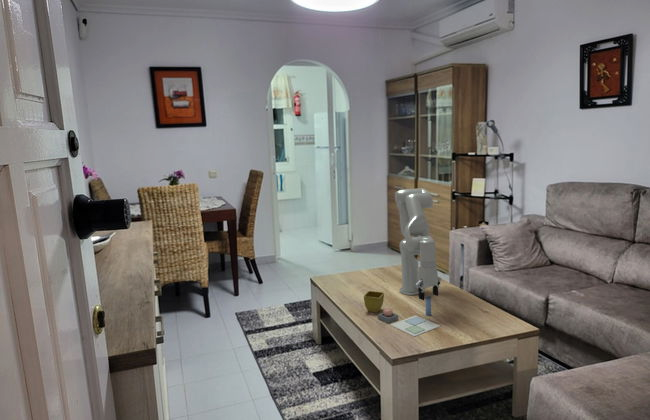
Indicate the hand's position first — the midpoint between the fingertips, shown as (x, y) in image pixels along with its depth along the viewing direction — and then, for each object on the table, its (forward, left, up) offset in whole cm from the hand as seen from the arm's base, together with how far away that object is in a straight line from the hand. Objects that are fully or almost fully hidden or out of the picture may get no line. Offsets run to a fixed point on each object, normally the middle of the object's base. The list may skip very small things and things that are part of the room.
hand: (428, 297), depth 219 cm
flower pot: (+17, -23, -10) cm, 30 cm away
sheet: (+14, +4, -10) cm, 18 cm away
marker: (0, -1, -10) cm, 10 cm away
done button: (+19, -10, -7) cm, 22 cm away
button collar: (+19, -10, -10) cm, 23 cm away
